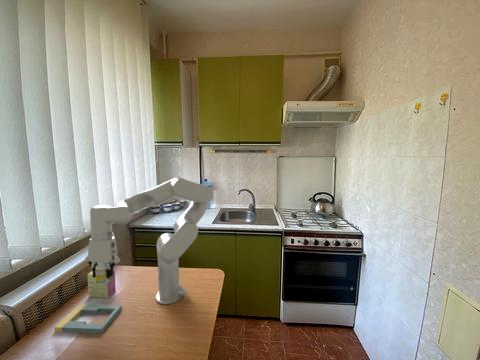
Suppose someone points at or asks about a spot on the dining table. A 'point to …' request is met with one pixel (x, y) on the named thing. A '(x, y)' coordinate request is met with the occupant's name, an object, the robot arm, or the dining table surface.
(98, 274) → the supplement bottle
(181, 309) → the dining table surface
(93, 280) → the box
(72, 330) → the keyhole board
